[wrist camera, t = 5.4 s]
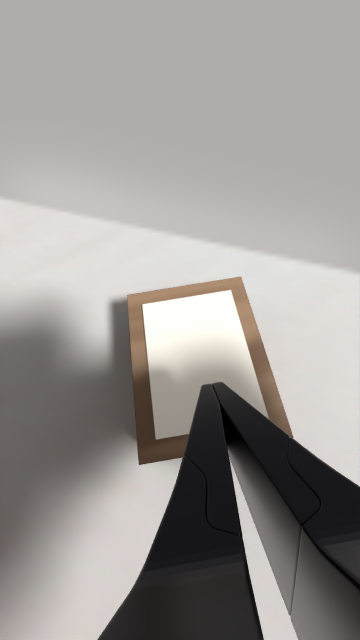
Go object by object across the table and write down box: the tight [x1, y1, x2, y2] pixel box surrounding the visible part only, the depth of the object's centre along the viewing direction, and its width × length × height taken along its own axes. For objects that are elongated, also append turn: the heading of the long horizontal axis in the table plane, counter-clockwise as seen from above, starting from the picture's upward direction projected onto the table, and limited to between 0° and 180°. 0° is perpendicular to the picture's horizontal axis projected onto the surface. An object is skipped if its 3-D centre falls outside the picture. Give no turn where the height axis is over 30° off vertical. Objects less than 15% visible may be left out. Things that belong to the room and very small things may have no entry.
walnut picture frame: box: [127, 277, 293, 465], centre depth 15 cm, size 4×8×10 cm
